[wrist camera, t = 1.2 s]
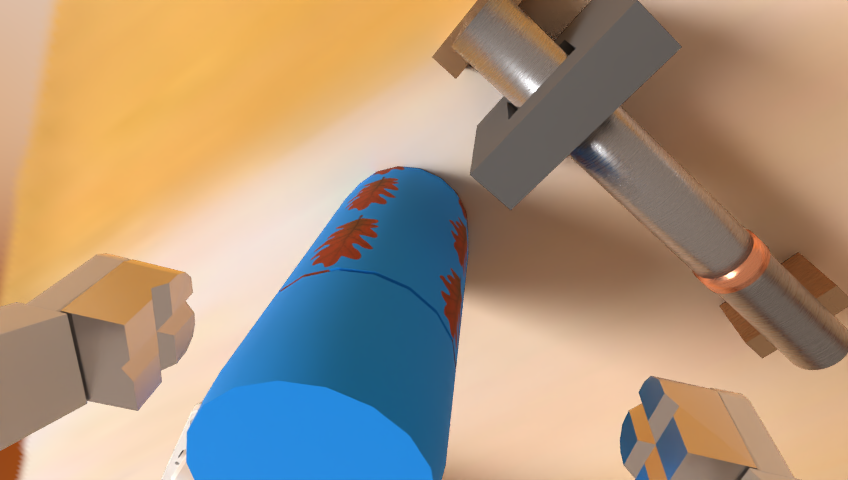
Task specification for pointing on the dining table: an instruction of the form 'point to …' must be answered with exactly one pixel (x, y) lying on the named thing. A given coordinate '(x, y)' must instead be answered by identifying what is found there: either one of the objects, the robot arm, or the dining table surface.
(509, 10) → the pipe rig
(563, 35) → the collar
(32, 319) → the robot arm
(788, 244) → the dining table surface
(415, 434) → the thermos
